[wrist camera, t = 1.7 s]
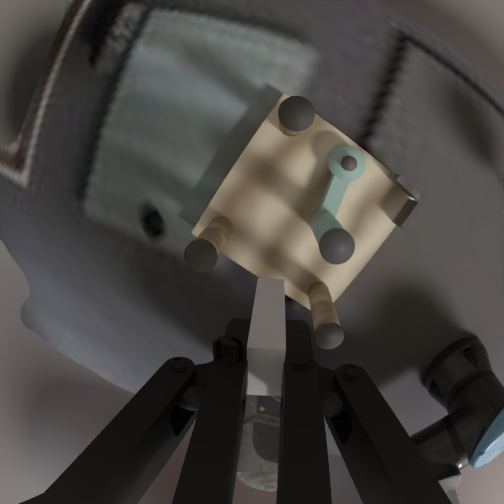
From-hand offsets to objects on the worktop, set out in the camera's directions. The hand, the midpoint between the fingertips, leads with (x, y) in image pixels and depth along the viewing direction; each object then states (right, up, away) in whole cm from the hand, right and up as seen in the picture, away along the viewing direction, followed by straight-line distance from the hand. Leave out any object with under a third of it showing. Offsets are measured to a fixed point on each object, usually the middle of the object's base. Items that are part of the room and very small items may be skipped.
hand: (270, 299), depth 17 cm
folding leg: (+9, +11, +18) cm, 23 cm away
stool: (+6, +9, +22) cm, 25 cm away
